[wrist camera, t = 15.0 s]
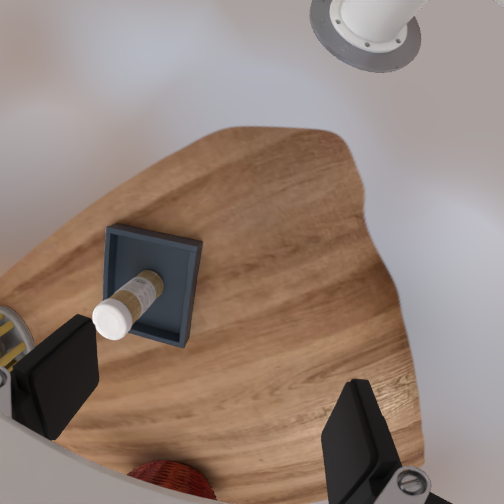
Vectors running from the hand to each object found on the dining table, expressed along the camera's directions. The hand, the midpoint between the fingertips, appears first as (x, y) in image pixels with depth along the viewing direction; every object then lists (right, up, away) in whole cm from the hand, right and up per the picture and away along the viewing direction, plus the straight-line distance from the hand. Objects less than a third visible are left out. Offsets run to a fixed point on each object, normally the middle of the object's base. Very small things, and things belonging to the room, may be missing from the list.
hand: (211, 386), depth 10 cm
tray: (-13, 0, +34) cm, 37 cm away
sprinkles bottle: (-13, 0, +34) cm, 36 cm away
